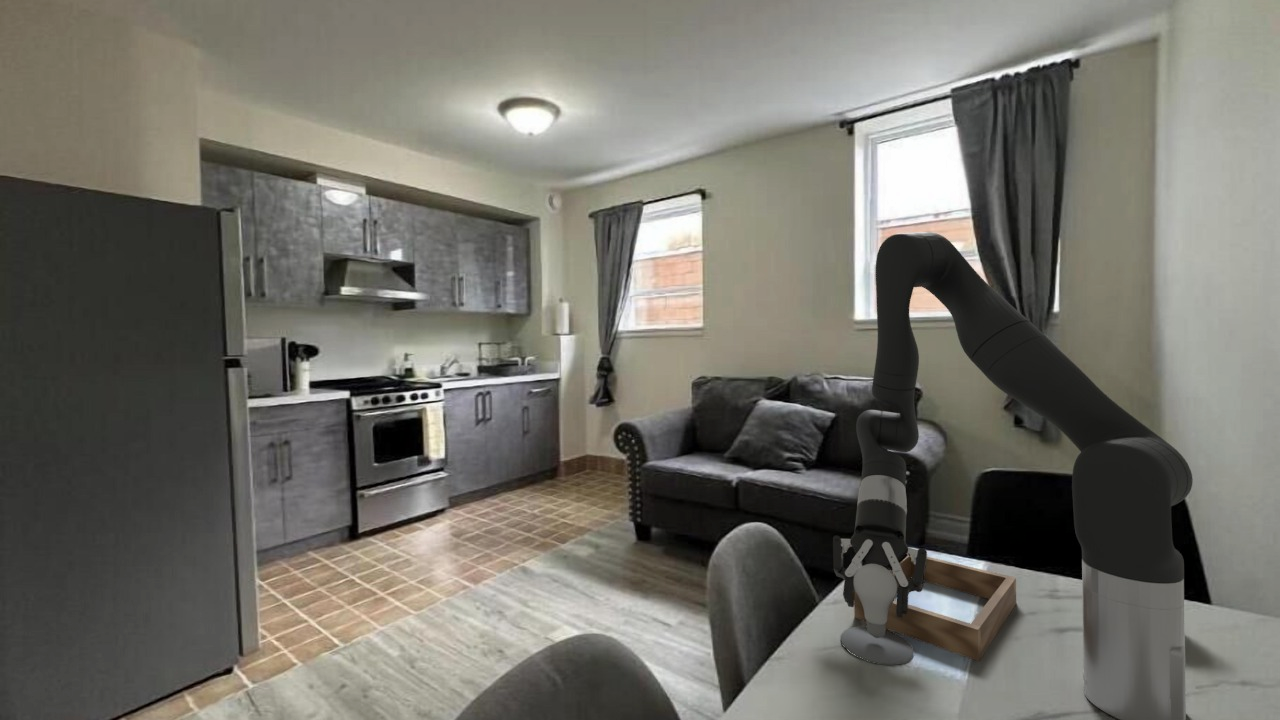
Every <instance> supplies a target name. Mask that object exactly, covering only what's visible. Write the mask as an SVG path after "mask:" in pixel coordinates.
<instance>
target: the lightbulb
mask: <svg viewBox="0 0 1280 720" xmlns="http://www.w3.org/2000/svg"><path fill="white" fill-rule="evenodd" d="M854 589H855V591H856V593H857V595H858V597H859V599H860V601H861V602H862V605H863V608H864V614H865V619H866V620H867V622H866V626H867V631H868V633H869V634H870V635H872V636H873V637H875V638H880V637H882V636H884V635H885V630H887V629H885V628H886V622H887V615H888V610H889V608H890V606H891V604H892V603H893V601H894V600H896V599H897V582H896V580H895V578H894V576H893V575H892V573H891V572H890V571H889V570H888V569H886V568H885V567H883V566H881V565H878V564H866V565H864V566H862V567H860V568H859V569H858V570H857V572H856V573H855V576H854Z"/></svg>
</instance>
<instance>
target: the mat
mask: <svg viewBox="0 0 1280 720" xmlns="http://www.w3.org/2000/svg"><path fill="white" fill-rule="evenodd" d="M840 641H842V643H841V645H842V644H843V645H844V646H845V647H846V648H847V649H848V650H849V651H850V652H851V653H853V654H855V655H856V656H858V657H861V658H863V659H865V660H868V661H870V662H869V663H871V662H875V663H874V664H876V663H879V664H878V665H881V664H884V665H883V666H896V665H903V664H905V663H908V662H909V661H911V660H912V658H913V657H914V648H913V645H912V644H911V642H910V641H909V640H907V639H906V638H905V637H903V636H901V634H899V633H897V632H894V631H891V630H888V629H886V630H885V635H884V636H882V637H880V638H875V637H873V636H872V635H870V634H869V633H868V631H867V625H859V626H853V627H849V628H847V629H845V630H844V631H843V632H842V633H841V635H840ZM843 645H842V646H843ZM851 653H850V654H851ZM856 656H855V657H856ZM858 657H857V658H858ZM865 660H864V661H865ZM868 661H867V662H868Z"/></svg>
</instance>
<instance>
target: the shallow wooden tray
mask: <svg viewBox="0 0 1280 720" xmlns="http://www.w3.org/2000/svg"><path fill="white" fill-rule="evenodd" d="M900 566H901V568H902V571H903V573H904V575H905V577H906V579H907V580H909V579H910V578H911V577H912V578H911V579H913V576H914V570H915V564H913V563H912V560H911V557H910V556H907V557H906V558H905V559H904V560H903V561H902V562H901V563H900ZM889 571H890V572H891V570H889ZM891 573H892V572H891ZM892 575H893V574H892ZM924 582H926V583H929V584H932V585H937V586H940V587H943V588H948V589H951V590H956V591H959V592H963V593H967V594H969V595H974V596H978V597H982V598H985V599H988V600H987V602H986V604H984V606H983V608H982V609H981V610H980V611H979V612H978V614H977V615H976V616H975V618H974V619H973V620H972V622H971V623H970V622H966V621H964V620H961V619H957V618H953V617H950V616H946V615H944V614H941V613H938V612H934V611H931V610H928V609H924V608H921V607H918V606H914V605H912V604H911V605H910V604H908V612H907V614H903V616H902V618H901V617H897V613H896V606H897V600H896V599H894V601H893V603H892V604H891V606H890V608H889V610H888V615H887V622H886V628H885V629H886V630H889V631H892V632H894V633H896V634H899V635H903V636H906V637H908V638H912V639H914V640H917V641H920V642H923V643H925V644H929V645H931V646H934V647H937V648H940V649H943V650H946V651H949V652H951V653H955V654H958V655H960V656H962V657H966V658H969V659H972V660H975V661H977V662H979V661H980V659H981V658H982V657H983V655H984V654H985V652H986V651H987V649H988V647H989V646H990V645H991V643H992V642H993V639H994V638H995V637H996V635H997V634H998V632H999V631H1000V629H1001V628H1002V626H1003V625H1004V623H1005V622H1006V620H1007V619H1008V617H1009V615H1010V614H1011V612H1012V611H1013V609H1014V608H1015V606H1016V604H1017V577H1013V576H1009V575H1006V574H1002V573H997V572H993V571H989V570H985V569H981V568H977V567H973V566H968V565H965V564H960V563H956V562H951V561H948V560H943V559H939V558H935V557H932V556H927V565H926V571H925V577H924ZM897 587H899V586H898V584H897ZM853 610H854V619H858V620H860V621H863V622H866V623H867V620H866V619H865V614H864V608H863V605H862V602H861V601H860V599H859V597H858V595H857V593H856V591H855V597H854V607H853Z"/></svg>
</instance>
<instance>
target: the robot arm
mask: <svg viewBox="0 0 1280 720" xmlns="http://www.w3.org/2000/svg"><path fill="white" fill-rule="evenodd" d="M875 288H876V289H875V291H876V292H875V293H876V320H877V322H876V323H877V343H876V344H877V348H876V356H875V362H874V363H875V364H874V372H873V378H872V385H871V394H872V396H873V397H874V398H875V399H876V400H878V401H879V402H881V403H885V404H886V405H887V404H888V405H890V406H893V407H895V408H896V409H897V410H898V412H891V411H885V410H879V409H878V410H877V409H867V410H864V411H863V412H862V413H861V414H860V415H859V416H858V418H857V420H856V426H855V429H856V430H855V431H856V435H857V437H856V438H857V441H858V444H859V447H860V451H861V456H862V469H861V470H862V471H861V480H860V482H861V483H860V485H859V486H860V487H859V490H858V494H857V505H856V513H855V514H856V515H855V525H854V533H853V534H852V536H851V538H841V537H840V535H837V534H836V535H833V538H832V555H833V559H832V560H833V561H832V563H833V565H832V566H833V571H834V573H835V576H836V577H838V578H841V579H843V580H844V581H843V591H842V592H843V593H842V595H843V599H844V602H845V603H847V606H848V607H849V608H854V597H855V589H854V576H855V573H856V572H857V570H858V569H859V568H860V567H862V566H864V565H866V564H878V565H881V566H883V567H885V568H886V569H888V570H891V572H892V574H893V576H894V578H895V580H896V582H897V584H898V586H899V587H897V595H896V601H897V606H896V613H897V617H901V618H902V616H903V614H907V612H908V605H909V594H910V593H911V592H917V593H920V592H922V591H923V588H924V582H925V581H924V577H925V571H926V565H927V557H928V552H927V550H926V549H925V548H924V547H920V548H918V549H916V548H912V547H909V546H908V544H907V543H906V535H907V534H906V530H907V513H908V508H907V505H908V504H907V492H906V491H907V490H906V488H907V487H906V481H907V464H906V461H905V460H904V458H903V457H902V456H901V455H899V454H897V453H896V452H899V453H908V452H910V451H912V450H914V448H915V447H916V446H917V444H918V442H919V435H920V434H919V425H918V420H917V417H916V410H915V409H916V408H915V391H916V384H917V380H918V374H919V373H918V372H919V365H920V354H919V348H918V344H917V341H916V339H915V335H914V332H913V329H912V325H911V317H910V308H911V307H910V306H911V300H912V295H913V293H914V292H913V291H914V288H923V289H925V290H927V291H928V292H929V293H931V294H932V295H933V297H935V298H936V299H937V300H939V302H940V303H941V304H942V305H944V307H945V308H946V309H947V310H948V312H949V313H950V315H951V316H952V319H953V322H954V326H955V330H956V334H957V338H958V341H959V343H960V346H961V348H962V350H963V352H964V353H965V355H966V356H967V357H968V359H969V360H970V362H972V363H973V364H974V365H975V366H976V367H977V369H978V370H980V371H981V373H982V374H983V375H985V377H986V378H987V379H988V380H989V381H990V382H991V383H992V384H994V386H995V387H996V388H998V389H999V390H1001V391H1002V392H1003V393H1005V394H1006V395H1008V396H1009V397H1011V398H1012V399H1014V400H1015V401H1017V402H1018V403H1019V404H1021V405H1023V406H1025V407H1026V408H1028V409H1030V410H1031V411H1033V412H1034V413H1036V414H1038V415H1039V416H1041V417H1043V418H1044V419H1046V420H1047V421H1049V422H1050V423H1051V424H1053V425H1054V426H1055V427H1056V428H1058V429H1059V430H1060V431H1061V432H1062V434H1064V436H1066V437H1067V439H1068V440H1070V442H1071V443H1072V444H1074V445H1075V447H1076V448H1077V449H1078V451H1080V453H1079V454H1078V455H1077V457H1076V459H1075V461H1074V463H1073V468H1072V478H1071V482H1072V483H1071V491H1072V507H1073V508H1072V509H1073V510H1072V511H1073V525H1074V526H1073V527H1074V530H1075V532H1074V533H1075V535H1076V540H1077V541H1078V543H1079V545H1080V547H1081V569H1082V570H1081V574H1082V575H1081V576H1082V577H1081V579H1082V581H1081V582H1082V583H1081V587H1082V588H1081V589H1082V592H1081V593H1082V652H1083V653H1082V655H1083V658H1082V661H1083V665H1082V666H1083V667H1082V668H1083V672H1082V676H1083V677H1082V679H1083V692H1084V695H1085V697H1086V698H1087V699H1088V701H1090V703H1092V704H1093V705H1094V706H1095V707H1096V708H1098V709H1100V710H1101V711H1102V712H1103V713H1106V714H1108V715H1109V716H1111V717H1113V718H1115V719H1118V720H1187V716H1186V715H1187V711H1186V710H1187V705H1186V703H1187V701H1186V700H1187V699H1186V696H1187V694H1186V691H1187V690H1186V689H1187V688H1186V635H1185V630H1186V629H1185V628H1186V627H1185V560H1184V557H1183V555H1182V553H1180V551H1179V550H1178V549H1176V548H1175V545H1174V540H1173V528H1172V527H1173V526H1172V525H1173V524H1172V507H1173V506H1176V505H1177V504H1179V503H1181V502H1182V501H1183V500H1185V499H1186V498H1187V497H1188V495H1189V494H1190V492H1191V491H1192V487H1193V481H1194V479H1193V473H1192V471H1191V468H1190V465H1189V463H1188V461H1186V458H1184V456H1183V455H1182V454H1181V453H1180V452H1179V451H1178V450H1177V449H1176V448H1175V447H1174V446H1172V445H1171V444H1170V443H1169V442H1167V441H1166V440H1165V439H1164V438H1162V437H1161V436H1160V435H1158V434H1157V433H1156V432H1154V431H1153V430H1151V429H1150V428H1149V427H1148V426H1146V425H1145V424H1143V423H1142V422H1141V421H1139V420H1138V419H1136V417H1134V416H1133V415H1131V414H1130V413H1129V412H1128V411H1126V410H1125V409H1123V408H1122V407H1121V406H1119V405H1118V404H1117V403H1116V402H1115V401H1113V400H1112V399H1111V398H1110V397H1109V396H1108V395H1107V394H1105V393H1104V392H1103V390H1102V389H1100V388H1099V387H1098V386H1097V385H1096V384H1095V383H1094V382H1093V380H1092V379H1090V378H1089V376H1088V375H1086V374H1085V372H1083V370H1081V368H1079V366H1078V365H1076V364H1075V363H1074V362H1073V361H1072V359H1070V358H1069V357H1068V356H1067V355H1066V354H1064V353H1063V352H1062V351H1061V350H1060V349H1059V348H1058V347H1057V346H1056V344H1054V343H1053V341H1052V340H1051V339H1049V337H1047V336H1046V335H1045V334H1044V332H1042V331H1041V330H1040V329H1039V328H1038V327H1036V325H1034V324H1033V323H1032V322H1031V321H1030V320H1029V319H1027V317H1025V316H1024V315H1023V314H1022V313H1020V312H1019V311H1018V310H1017V309H1016V308H1015V307H1014V306H1013V305H1012V304H1011V303H1009V302H1008V301H1007V300H1006V299H1005V298H1004V297H1003V296H1002V295H1001V294H1000V293H998V292H997V290H996V289H994V288H993V287H992V286H991V285H989V283H987V281H985V280H984V279H983V278H982V277H981V275H980V274H979V273H978V272H977V270H976V269H974V267H972V265H971V264H970V263H969V262H968V261H967V260H966V258H965V257H964V256H963V254H961V252H960V251H959V250H958V248H956V246H955V245H954V244H953V243H952V242H951V241H950V240H949V239H948V238H947V237H945V236H943V235H942V234H940V233H936V232H932V231H931V232H930V231H922V232H921V231H918V232H915V231H913V232H898V233H895V234H892V235H890V236H888V237H886V238H885V240H883V242H882V244H881V245H880V246H879V248H878V251H877V254H876V259H875ZM893 451H894V452H893ZM849 548H851V549H852V550H853V551H854V553H855V555H854V557H853V558H852V559H851V563H850V564H849V566H848V567H847V568H846V567H844V554H845V553H847V552H848V549H849ZM907 556H910V557H911V560H912V563H913V564H915V570H914V576H913V578H911V579H909V580H907V579H906V577H905V575H904V573H903V571H902V568H901V566H900V563H901V562H902V561H903V560H904V559H905V558H906V557H907Z"/></svg>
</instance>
